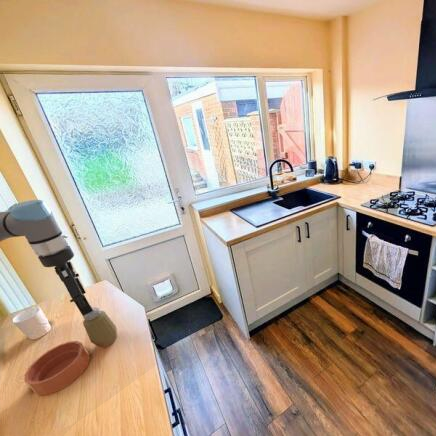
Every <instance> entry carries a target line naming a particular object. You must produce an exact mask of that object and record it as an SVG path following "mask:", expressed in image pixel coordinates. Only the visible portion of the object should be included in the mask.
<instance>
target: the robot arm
mask: <svg viewBox="0 0 436 436" xmlns="http://www.w3.org/2000/svg"><path fill="white" fill-rule="evenodd" d="M18 237H25V239H26V240H27V242H28V244H29V246H30V248H31V250H32V251H33V253H34V254H35V255H36V256H37V258H38V260H39V262H40V263H41V265H42V267H44V268H54V272H55V274H56V275H57V276H58V278H59V279H60V281H61V282H62V283H63V284H64V286H65V288H66V290H67V292H68V294H69V296H70V298H71V299H69V302H70V303H74V304H75V306H76V308H77V309H78V311H79V312H80V314H81V316H82V317H83V316H84V315H86V314H88V313H90V312H92V311H93V310H92V308H91V306H92V305H91V304H90V303H89V301H88V299H87V297H86V296H85V295H86V293H87V291H86V290H85V288H84V286H83V285H82V282H81V281H80V279H79V277H80V275H79V273H77V272H76V271H74V267H73V264H72V262H71V260H72V259H73V258H74V257H75V253H74V252H73V250H72V248H71V246H70V245H69V242H68V241H67V239H68V235H67V234H63V232H62V230H61V228H60V226H59V224H58V222H57V220H56V218H55V217H54V214H53V211H52V210H51V209H50V207H49V206H48V205H47V203H46V202H45V201H44V200H42V199H31V200H25V201H21V202H18V203H15V204H13V205H10V206H9V207H8V210H6V211H0V242H2V241H5V240H7V239H10V238H18ZM89 304H90V305H91V306H90V305H89Z"/></svg>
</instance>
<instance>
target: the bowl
mask: <svg viewBox="0 0 436 436" xmlns="http://www.w3.org/2000/svg"><path fill="white" fill-rule="evenodd" d="M90 360H91V356H90V353H89V351H88V350H87V348H86V347H85V345H84V344H83V342H82V341H78V340H72V341H66V342H63V343H61V344H58V345H57V346H54V347H52V348H51V349H49V350H47V351H46V352H44V353H43V354H42V355H40V356H39V357H38V358H36V360H34V362H33V363H32V364H30V366H29V367H28V368H27V370H26V372H25V374H24V383H26V385H27V386H28V387H29V388H30V389H31V390H32V391H33V393H35V394H36V395H38V396H46V395H47V396H48V395H50V394H54V393H55V392H56V393H57V392H58V391H61V390H62V389H64V388H65V387H67V386H69V385H70V384H71V383H73V382H74V381H75V380H76V379H78V377H80V376H81V375H82V374H83V372H84V371H85V370H86V368H87V367H88V366H89V363H90Z"/></svg>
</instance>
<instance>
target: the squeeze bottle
mask: <svg viewBox="0 0 436 436" xmlns="http://www.w3.org/2000/svg"><path fill="white" fill-rule="evenodd" d="M89 305H90V306H91V308H92V310H93V311H92V312H90V313H88V314H86V315H84V316H82V318H83V321H82V325H83V327H84V329H85V332H86V334H87V336H88V338H89V341H90V343H92V344H93V345H94V346H97V347H98V348H106V347H108V346H110V345H112V344H113V343H114V342H115V341H116V340H117V338H118V329H117V325H116V324H115V323H114V322H113V321H112V319H111V318H110V317H109V315H108V314H107V313H106V311H104V310H100V308H99V307H96V306H94V307H93V306H92V305H91V304H90V303H89Z"/></svg>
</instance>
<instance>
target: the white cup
mask: <svg viewBox="0 0 436 436" xmlns="http://www.w3.org/2000/svg"><path fill="white" fill-rule="evenodd" d="M12 323H13V324H14V325H15V326H16V327H17V328H18V329H19V331H20V332H22V333H23V334H24V335H25V336H26V337H27V338H28V339H29V340H37V339H40V338H41V337H43V336H45V335H46V334H48V333H49V332H50V331H51V330H52V326H51V324H50V322H49V320H48V319H47V316H46V315H45V313H44V311H43V310H42V308H41V307H40V306H33V307H29V308H27V309H25V310H23V311H21V312H19V313H18V314H16V315H15V316H14V317H13V319H12Z"/></svg>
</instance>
